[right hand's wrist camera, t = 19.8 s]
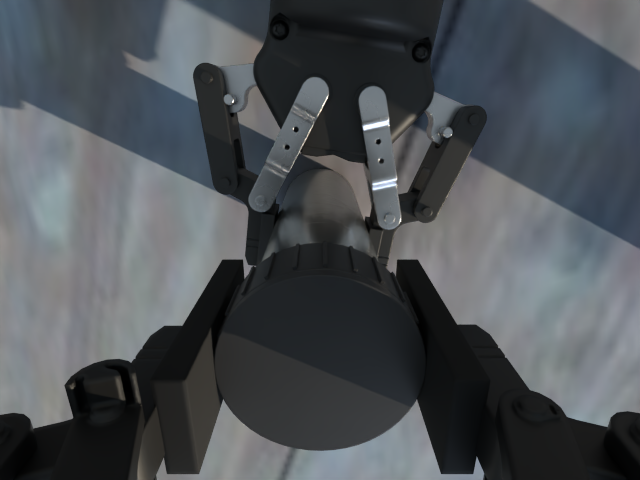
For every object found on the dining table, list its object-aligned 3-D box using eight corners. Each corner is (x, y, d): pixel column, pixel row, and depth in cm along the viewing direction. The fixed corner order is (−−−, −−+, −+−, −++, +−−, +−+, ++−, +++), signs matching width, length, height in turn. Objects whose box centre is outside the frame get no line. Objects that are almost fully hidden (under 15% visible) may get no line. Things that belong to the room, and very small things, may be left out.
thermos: (367, 216, 27) (434, 379, 11) (307, 248, 28) (291, 443, 12) (333, 154, 26) (354, 244, 10) (271, 191, 27) (199, 327, 11)
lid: (216, 377, 13) (195, 431, 11) (247, 218, 11) (230, 247, 9) (378, 410, 14) (389, 469, 12) (436, 264, 12) (462, 301, 10)
